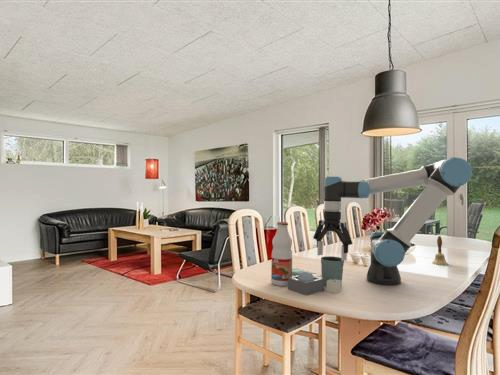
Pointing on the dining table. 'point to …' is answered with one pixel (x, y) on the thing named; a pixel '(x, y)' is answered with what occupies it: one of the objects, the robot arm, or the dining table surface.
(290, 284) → the collar
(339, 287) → the die
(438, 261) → the hand bell
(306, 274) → the blue-grey ball
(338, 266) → the teal and white cup
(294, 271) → the track board
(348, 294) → the dining table surface
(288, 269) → the fruit juice
